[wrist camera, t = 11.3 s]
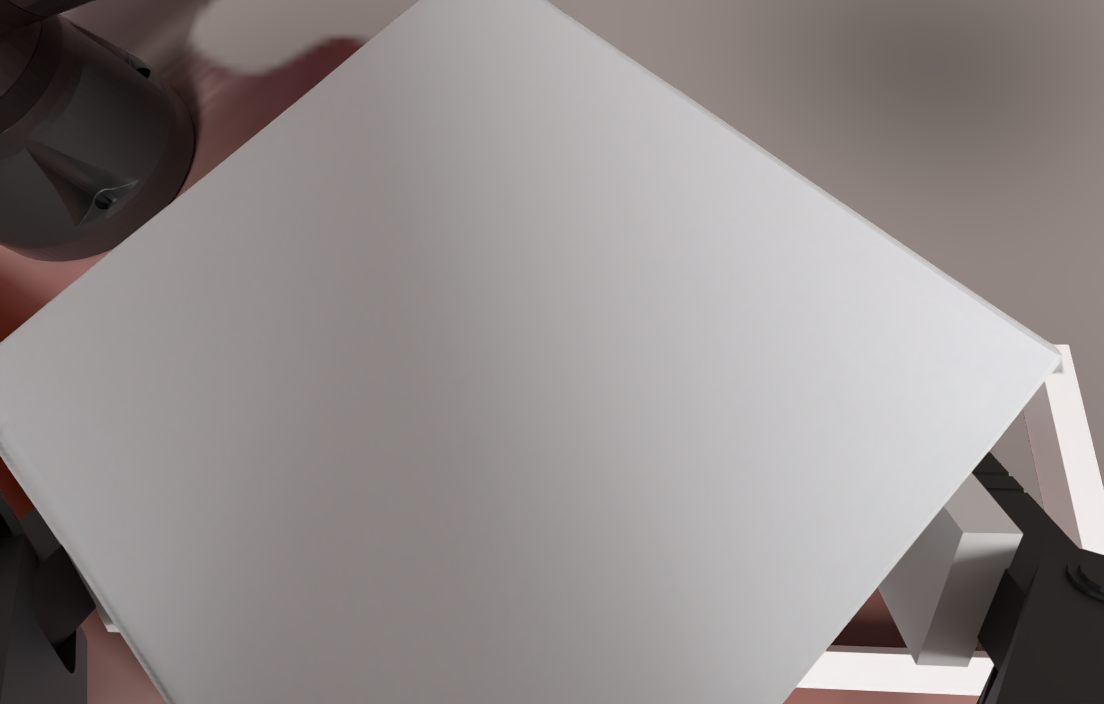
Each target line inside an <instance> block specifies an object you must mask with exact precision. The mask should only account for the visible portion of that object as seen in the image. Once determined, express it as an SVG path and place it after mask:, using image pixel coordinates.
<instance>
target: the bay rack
mask: <svg viewBox="0 0 1104 704" xmlns="http://www.w3.org/2000/svg"><path fill="white" fill-rule="evenodd" d="M1054 346H1055V347H1056V348H1057V349H1058V350H1059V351H1060V352H1061V354H1062V358H1061V362H1060V364H1059V365H1058V366H1057V367H1056V368H1055V369H1054V371H1053V372H1052V373H1051V374H1050V375H1049V376H1048V377H1047V379H1046V380H1045V381H1044V382H1043V383H1042V385H1041V386H1040V387H1039V388H1038V390H1037V391H1036V392H1035V394H1034V395H1033V396H1032V397H1031V399H1030V400H1029V401H1028V402H1027V404H1026V405H1025V406H1024V407H1023V413H1024V418H1025V423H1026V427H1027V432H1028V437H1029V442H1030V446H1031V451H1032V456H1033V461H1034V465H1035V470H1036V475H1037V479H1038V484H1039V489H1040V494H1041V498H1042V503H1043V508H1044V511H1045V512H1046V513H1047V514H1048V515H1049V517H1050V518H1051V519H1052V520H1053V521H1054V522H1055V523H1056V524H1057V525H1058V526H1059V527H1060V528H1061V529H1062V531H1063V532H1064V533H1065V534H1066V535H1067V536H1068V537H1069V538H1070V539H1071V540H1072V541H1073V542H1074V543H1075V545H1076V546H1077V547H1078V548H1079V549H1085V550H1088V551H1092V552H1095V553H1099V554H1102V555H1104V489H1103V485H1102V481H1101V477H1100V473H1099V468H1098V464H1097V460H1096V456H1095V452H1094V448H1093V444H1092V439H1091V435H1090V431H1089V427H1088V423H1087V419H1086V415H1085V411H1084V406H1083V403H1082V398H1081V394H1080V390H1079V386H1078V382H1077V378H1076V374H1075V369H1074V365H1073V361H1072V357H1071V353H1070V349H1069V345H1054ZM993 666H994V664H993V662H992V661H991V659H990V658H989V656H988V654H987V653H986V651H974V653H973V656H972V658H971V661H970V663H969V665H968V667H953V666H929V665H916V664H915V662H914V660H913V658H912V656H911V654H910V652H909V650H908V648H893V647H867V646H842V645H830V646H829V647H828V648H827V649H826V651H825V652H824V653H823V654H822V656H821V657H820V658H819V659H818V660H817V662H816V663H815V664H814V665H813V667H812V668H811V669H810V670H809V671H808V673H807V674H806V675H805V676H804V678H803V679H802V680H801V681H800V683H799V684H798V685H797V686H796V687H802V688H824V689H846V690H869V691H891V692H913V693H935V694H957V695H981V692H982V690H983V688H984V686H985V683H986V681H987V679H988V677H989V674H990V672H991V670H992V668H993Z"/></svg>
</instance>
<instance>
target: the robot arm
mask: <svg viewBox="0 0 1104 704" xmlns="http://www.w3.org/2000/svg"><path fill="white" fill-rule="evenodd" d="M92 1H94V0H0V245H2V246H4V247H6V248H8V249H10V250H12V251H14V252H16V253H18V254H21V255H23V256H26V257H29V258H32V259H37V260H42V261H71V260H77V259H82V258H86V257H90V256H94V255H97V254H100V253H102V252H105V251H107V250H110V249H112V248H114V247H116V246H118V245H119V244H120V243H122V242H123V241H124V240H125V239H127V238H128V237H129V236H130V235H132V234H133V233H134V232H135V231H137V230H138V229H139V228H140V227H142V226H143V225H144V224H145V223H147V222H148V221H149V220H150V219H152V218H153V217H154V216H155V215H157V214H158V213H159V212H160V211H162V210H163V209H164V208H165V207H166V206H167V205H168V204H169V203H170V201H171V200H172V199H173V197H174V196H175V194H176V193H177V191H178V189H179V188H180V186H181V184H182V182H183V180H184V178H185V176H186V174H187V171H188V168H189V166H190V162H191V158H192V154H193V147H194V130H193V123H192V119H191V116H190V113H189V111H188V109H187V107H186V105H185V103H184V102H183V100H182V99H181V97H180V96H179V95H178V94H177V93H176V92H175V91H174V90H173V89H172V88H171V87H170V86H169V85H168V83H167V82H166V81H165V80H164V79H163V78H162V77H161V76H160V75H159V74H158V73H157V72H156V71H155V70H153V69H152V68H151V67H150V66H149V65H147V64H146V63H144V62H143V61H141V60H140V59H138V58H136V57H135V56H133V55H131V54H128V53H127V52H125V51H123V50H122V49H120V48H118V47H117V46H115V45H113V44H111V43H110V42H108V41H106V40H104V39H102V38H101V37H99V36H97V35H95V34H94V33H92V32H90V31H88V30H86V29H85V28H83V27H81V26H79V25H78V24H76V23H74V22H72V21H70V20H69V19H67V18H65V17H63V16H62V15H60V13H62V12H65V11H68V10H70V9H73V8H76V7H78V6H81V5H84V4H86V3H89V2H92ZM1008 473H1009V472H1008V471H1007V470H1006V469H1004V467H1003V466H1002V465H1001V464H1000V463H999V462H998V461H997V459H995V457H994V456H993V455H992V454H991V453H990V452H988V453H987V454H986V455H985V456H984V458H983V459H982V460H981V461H980V462H979V464H978V465H977V466H976V467H975V468H974V470H973V471H972V472H971V473H970V474H969V476H968V477H967V478H966V479H965V480H964V482H963V483H962V484H961V485H960V487H959V488H958V489H957V490H956V491H955V493H954V494H953V495H952V496H951V497H950V499H949V500H948V501H947V502H946V503H945V505H944V506H943V507H942V508H941V510H940V511H939V512H938V513H937V514H936V516H935V517H934V518H933V519H932V521H931V522H930V523H929V524H928V525H927V527H926V528H925V529H924V530H923V532H922V533H921V534H920V535H919V537H918V538H917V539H916V540H915V541H914V543H913V544H912V545H911V546H910V548H909V549H908V550H907V551H906V553H905V554H904V555H903V556H902V557H901V559H900V560H899V561H898V562H897V564H896V565H895V566H894V567H893V568H892V570H891V571H890V572H889V573H888V575H887V576H886V577H885V578H884V580H883V581H882V582H881V583H880V584H879V586H878V589H879V591H880V593H881V595H882V597H883V599H884V601H885V603H886V605H887V607H888V609H889V611H890V613H891V615H892V617H893V619H894V621H895V623H896V625H897V627H898V630H899V632H900V634H901V636H902V638H903V640H904V642H905V644H906V646H907V648H908V650H909V652H910V654H911V656H912V658H913V660H914V662H915V664H916V665H929V666H953V667H968V665H969V663H970V661H971V658H972V656H973V653H974V651H975V649H976V646H977V644H978V641H980V643H981V645H982V646H983V648H984V649H985V651H986V653H987V654H988V656H989V658H990V659H991V661H992V662H993V664H994V666H993V668H992V670H991V672H990V674H989V677H988V679H987V681H986V683H985V686H984V688H983V690H982V692H981V695H980V697H979V699H978V701H977V704H1104V555H1102V554H1099V553H1095V552H1092V551H1088V550H1085V549H1079V548H1078V547H1077V546H1076V545H1075V543H1074V542H1073V541H1072V540H1071V539H1070V538H1069V537H1068V536H1067V535H1066V534H1065V533H1064V532H1063V531H1062V529H1061V528H1060V527H1059V526H1058V525H1057V524H1056V523H1055V522H1054V521H1053V520H1052V519H1051V518H1050V517H1049V515H1048V514H1047V513H1046V512H1045V511H1044V510H1043V509H1042V508H1041V507H1040V506H1039V505H1038V504H1037V503H1036V501H1035V500H1034V499H1033V498H1032V497H1031V496H1030V495H1029V494H1028V493H1024V491H1023V487H1022V486H1021V485H1019V483H1018V482H1017V481H1016V480H1015V479H1014V478H1013V477H1012V476H1009V475H1008ZM95 608H96V610H97V612H98V614H99V616H100V617H101V619H102V621H103V623H104V625H105V626H106V628H107V630H108V632H119V630H118V629H117V627H116V626H115V624H114V623H113V621H112V620H111V618H110V616H109V615H108V613H107V612H106V610H105V609H104V607H103V606H102V604H101V603H100V601H99V600H98V598H97V596H96V595H95V593H94V592H93V590H92V589H91V587H90V586H89V584H88V582H87V581H86V579H85V578H84V576H83V575H82V573H81V572H80V570H79V569H78V567H77V565H76V564H75V562H74V561H73V559H72V558H71V556H70V555H69V553H68V552H67V551H66V549H65V548H64V547H63V546H62V544H61V543H60V542H59V541H58V539H57V538H56V537H55V535H54V534H53V532H52V531H51V529H50V528H49V526H48V525H47V523H46V522H45V520H44V519H43V517H42V516H41V514H40V513H39V511H38V510H37V508H36V507H35V508H34V509H33V510H32V511H30V512H29V513H28V514H27V515H25V516H24V517H23V518H22V519H21V520H19V521H18V519H17V518H16V516H15V514H14V513H13V511H12V509H11V507H10V506H9V504H8V502H7V501H6V499H5V497H4V496H3V494H2V492H1V490H0V704H87V639H86V636H85V634H84V632H83V630H82V628H81V627H80V624H81V623H82V622H83V621H84V620H85V619H86V618H87V617H88V615H89V614H90V613H91V612H92V611H93V610H94V609H95Z"/></svg>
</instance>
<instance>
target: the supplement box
mask: <svg viewBox="0 0 1104 704" xmlns="http://www.w3.org/2000/svg"><path fill="white" fill-rule="evenodd" d="M1061 358H1062V354H1061V352H1060V351H1059V350H1058V349H1057V348H1056V347H1055V346H1054V345H1052V344H1050V343H1049V342H1048V341H1046V340H1045V339H1043V338H1042V337H1040V336H1039V335H1037V334H1036V333H1034V332H1032V331H1031V330H1029V329H1028V328H1026V327H1025V326H1023V325H1022V324H1020V323H1019V322H1017V321H1016V320H1014V319H1013V318H1011V317H1010V316H1008V315H1007V314H1005V313H1004V312H1002V311H1001V310H999V309H998V308H996V307H995V306H993V305H992V304H990V303H989V302H987V301H986V300H985V299H983V298H982V297H980V296H979V295H977V294H976V293H974V292H973V291H971V290H970V289H968V288H967V287H965V286H964V285H962V284H961V283H959V282H958V281H956V280H955V279H953V278H952V277H950V276H949V275H947V274H946V273H944V272H943V271H941V270H940V269H938V268H937V267H935V266H934V265H932V264H931V263H929V262H928V261H926V260H925V259H923V258H922V257H920V256H919V255H917V254H916V253H914V252H913V251H912V250H910V249H909V248H907V247H906V246H904V245H903V244H901V243H900V242H899V241H897V240H896V239H894V238H893V237H891V236H890V235H888V234H887V233H885V232H884V231H882V230H881V229H880V228H878V227H876V226H875V225H874V224H872V223H870V222H869V221H868V220H866V219H865V218H863V217H862V216H860V215H859V214H858V213H856V212H855V211H853V210H852V209H850V208H849V207H847V206H846V205H844V204H843V203H841V202H840V201H838V200H837V199H835V198H834V197H833V196H831V195H830V194H828V193H827V192H825V191H824V190H823V189H821V188H820V187H818V186H817V185H815V184H814V183H812V182H811V181H810V180H808V179H806V178H805V177H804V176H802V175H800V174H799V173H798V172H796V171H795V170H793V169H792V168H791V167H789V166H788V165H786V164H785V163H783V162H782V161H780V160H779V159H777V158H776V157H774V156H773V155H772V154H770V153H769V152H767V151H766V150H764V149H763V148H762V147H760V146H759V145H757V144H756V143H754V142H753V141H751V140H750V139H749V138H747V137H746V136H744V135H743V134H741V133H740V132H738V131H737V130H736V129H734V128H733V127H731V126H730V125H728V124H727V123H726V122H724V121H723V120H721V119H720V118H718V117H717V116H715V115H714V114H712V113H711V112H710V111H708V110H707V109H705V108H704V107H702V106H701V105H700V104H698V103H697V102H695V101H694V100H692V99H691V98H689V97H688V96H687V95H685V94H684V93H682V92H681V91H679V90H678V89H676V88H675V87H673V86H672V85H670V84H669V83H667V82H665V81H664V80H662V79H661V78H659V77H658V76H656V75H655V74H653V73H652V72H650V71H649V70H647V69H646V68H644V67H643V66H642V65H640V64H639V63H637V62H636V61H634V60H633V59H632V58H630V57H628V56H627V55H626V54H624V53H623V52H622V51H620V50H619V49H617V48H616V47H614V46H613V45H611V44H610V43H608V42H607V41H605V40H604V39H602V38H601V37H599V36H598V35H596V34H595V33H593V32H592V31H591V30H589V29H587V28H586V27H585V26H583V25H582V24H580V23H579V22H577V21H576V20H574V19H573V18H571V17H570V16H568V15H567V14H566V13H564V12H563V11H562V10H560V9H559V8H557V7H556V6H554V5H553V4H552V3H550V2H549V1H548V0H419V1H418V2H417V3H415V4H414V5H413V6H411V7H410V8H409V9H408V10H406V11H405V12H404V13H402V14H401V15H400V16H399V17H397V18H396V19H395V20H393V21H392V22H391V23H390V24H389V25H387V26H386V27H385V28H384V29H383V30H381V31H380V32H379V33H378V34H377V35H375V36H374V37H373V38H372V39H371V40H370V41H368V42H367V43H366V44H365V45H364V46H362V47H361V48H360V49H359V50H358V51H356V52H355V53H354V54H353V55H352V56H350V57H349V58H348V59H347V60H346V61H345V62H343V63H342V64H341V65H340V66H339V67H337V68H336V69H335V70H334V71H333V72H331V73H330V74H329V75H328V76H327V77H326V78H324V79H323V80H322V81H321V82H320V83H318V84H317V85H316V86H315V87H314V88H312V89H311V90H310V91H309V92H308V93H306V94H305V95H304V96H303V97H301V98H300V99H299V100H298V101H297V102H295V103H294V104H293V105H292V106H290V107H289V108H288V109H287V110H286V111H284V112H283V113H282V114H281V115H279V116H278V117H277V118H276V119H274V120H273V121H272V122H271V123H270V124H268V125H267V126H266V127H265V128H263V129H262V130H261V131H260V132H259V133H257V134H256V135H255V136H254V137H252V138H251V139H250V140H249V141H248V142H246V143H245V144H244V145H243V146H241V147H240V148H239V149H238V150H236V151H235V152H234V153H233V154H232V155H230V156H229V157H228V158H227V159H225V160H224V161H223V162H222V163H221V164H219V165H218V166H217V167H216V168H214V169H213V170H212V171H211V172H209V173H208V174H207V175H206V176H204V177H203V178H202V179H201V180H199V181H198V182H197V183H196V184H194V185H193V186H192V187H191V188H189V189H188V190H187V191H186V192H184V193H183V194H182V195H181V196H179V197H178V198H177V199H175V200H174V201H173V202H172V203H170V204H169V205H168V206H167V207H165V208H164V209H163V210H162V211H160V212H159V213H158V214H157V215H155V216H154V217H153V218H152V219H150V220H149V221H148V222H147V223H145V224H144V225H143V226H142V227H140V228H139V229H138V230H137V231H135V232H134V233H133V234H132V235H130V236H129V237H128V238H127V239H125V240H124V241H123V242H122V243H120V244H119V245H118V246H117V247H116V248H114V249H113V250H112V251H111V252H109V253H108V254H107V255H106V256H105V257H103V258H102V259H101V260H100V261H99V262H97V263H96V264H95V265H94V266H93V267H91V268H90V269H89V270H88V271H86V272H85V273H84V274H83V275H82V276H80V277H79V278H78V279H77V280H76V281H74V282H73V283H72V284H71V285H70V286H68V287H67V288H66V289H65V290H64V291H62V292H61V293H60V294H59V295H57V296H56V297H55V298H54V299H53V300H51V301H50V302H49V303H48V304H47V305H45V306H44V307H43V308H42V309H41V310H39V311H38V312H37V313H36V314H35V315H33V316H32V317H31V318H30V319H29V320H27V321H26V322H25V323H24V324H23V325H21V326H20V327H19V328H18V329H17V330H15V331H14V332H13V333H12V334H11V335H9V336H8V337H7V338H6V339H5V340H3V341H2V342H1V343H0V456H1V457H2V459H3V460H4V462H5V463H6V465H7V467H8V468H9V470H10V471H11V472H12V474H13V475H14V477H15V478H16V480H17V481H18V482H19V484H20V485H21V487H22V488H23V490H24V491H25V493H26V494H27V495H28V497H29V498H30V500H31V501H32V503H33V504H34V505H35V507H36V508H37V510H38V511H39V513H40V514H41V516H42V517H43V519H44V520H45V522H46V523H47V525H48V526H49V528H50V529H51V531H52V532H53V534H54V535H55V537H56V538H57V539H58V541H59V542H60V543H61V544H62V546H63V547H64V548H65V549H66V551H67V552H68V553H69V555H70V556H71V558H72V559H73V561H74V562H75V564H76V565H77V567H78V569H79V570H80V572H81V573H82V575H83V576H84V578H85V579H86V581H87V582H88V584H89V586H90V587H91V589H92V590H93V592H94V593H95V595H96V596H97V598H98V600H99V601H100V603H101V604H102V606H103V607H104V609H105V610H106V612H107V613H108V615H109V616H110V618H111V620H112V621H113V623H114V624H115V626H116V627H117V629H118V630H119V632H120V633H121V635H122V636H123V638H124V639H125V641H126V642H127V644H128V645H129V647H130V649H131V650H132V652H133V653H134V655H135V656H136V658H137V659H138V661H139V662H140V664H141V665H142V667H143V668H144V670H145V671H146V673H147V674H148V676H149V677H150V679H151V681H152V682H153V684H154V685H155V687H156V688H157V690H158V691H159V693H160V694H161V696H162V697H163V699H164V700H165V702H166V703H167V704H782V703H783V702H784V701H785V700H786V699H787V697H788V696H789V695H790V694H791V692H792V691H793V690H794V689H795V687H796V686H797V685H798V684H799V683H800V681H801V680H802V679H803V678H804V676H805V675H806V674H807V673H808V671H809V670H810V669H811V668H812V667H813V665H814V664H815V663H816V662H817V660H818V659H819V658H820V657H821V656H822V654H823V653H824V652H825V651H826V649H827V648H828V647H829V646H830V644H831V643H832V642H833V641H834V640H835V638H836V637H837V636H838V635H839V633H840V632H841V631H842V630H843V629H844V627H845V626H846V625H847V624H848V622H849V621H850V620H851V619H852V618H853V616H854V615H855V614H856V613H857V611H858V610H859V609H860V608H861V606H862V605H863V604H864V603H865V602H866V600H867V599H868V598H869V597H870V595H871V594H872V593H873V592H874V591H875V589H876V588H877V587H878V586H879V584H880V583H881V582H882V581H883V580H884V578H885V577H886V576H887V575H888V573H889V572H890V571H891V570H892V568H893V567H894V566H895V565H896V564H897V562H898V561H899V560H900V559H901V557H902V556H903V555H904V554H905V553H906V551H907V550H908V549H909V548H910V546H911V545H912V544H913V543H914V541H915V540H916V539H917V538H918V537H919V535H920V534H921V533H922V532H923V530H924V529H925V528H926V527H927V525H928V524H929V523H930V522H931V521H932V519H933V518H934V517H935V516H936V514H937V513H938V512H939V511H940V510H941V508H942V507H943V506H944V505H945V503H946V502H947V501H948V500H949V499H950V497H951V496H952V495H953V494H954V493H955V491H956V490H957V489H958V488H959V487H960V485H961V484H962V483H963V482H964V480H965V479H966V478H967V477H968V476H969V474H970V473H971V472H972V471H973V470H974V468H975V467H976V466H977V465H978V464H979V462H980V461H981V460H982V459H983V458H984V456H985V455H986V454H987V453H988V451H989V450H990V449H991V448H992V447H993V445H994V444H995V443H996V442H997V440H998V439H999V438H1000V437H1001V435H1002V434H1003V433H1004V432H1005V430H1006V429H1007V428H1008V426H1009V425H1010V424H1011V423H1012V421H1013V420H1014V419H1015V417H1016V416H1017V415H1018V414H1019V413H1020V411H1021V410H1022V409H1023V407H1024V406H1025V405H1026V404H1027V402H1028V401H1029V400H1030V399H1031V397H1032V396H1033V395H1034V394H1035V392H1036V391H1037V390H1038V388H1039V387H1040V386H1041V385H1042V383H1043V382H1044V381H1045V380H1046V379H1047V377H1048V376H1049V375H1050V374H1051V373H1052V372H1053V371H1054V369H1055V368H1056V367H1057V366H1058V365H1059V364H1060V362H1061Z"/></svg>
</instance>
